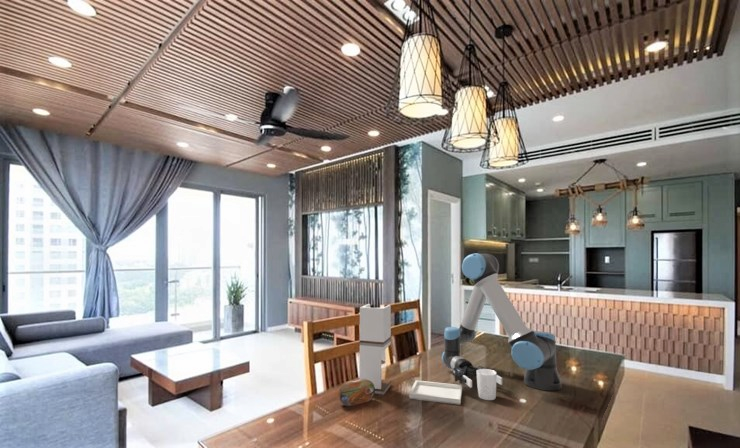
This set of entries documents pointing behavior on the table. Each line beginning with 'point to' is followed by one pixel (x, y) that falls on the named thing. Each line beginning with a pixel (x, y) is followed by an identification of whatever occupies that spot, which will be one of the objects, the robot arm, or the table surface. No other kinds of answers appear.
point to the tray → (436, 392)
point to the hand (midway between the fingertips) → (486, 382)
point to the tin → (356, 392)
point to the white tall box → (374, 344)
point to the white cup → (486, 384)
